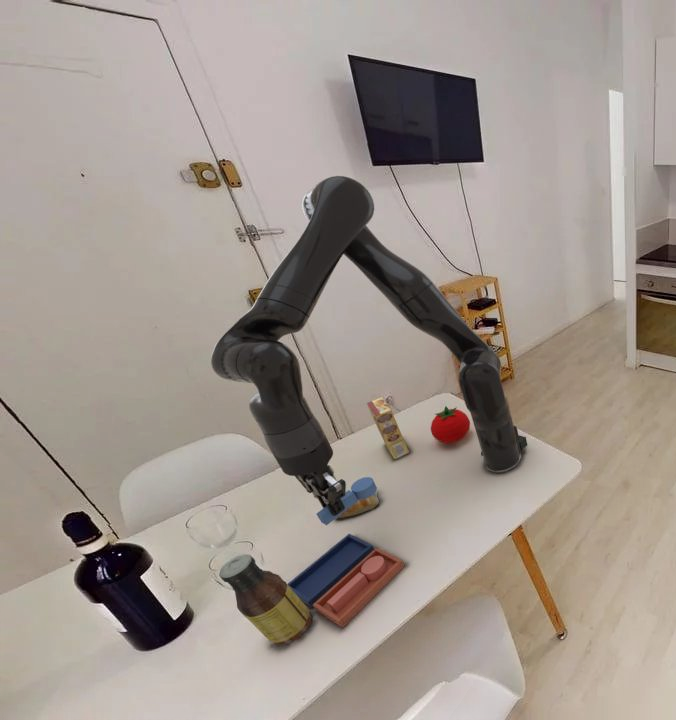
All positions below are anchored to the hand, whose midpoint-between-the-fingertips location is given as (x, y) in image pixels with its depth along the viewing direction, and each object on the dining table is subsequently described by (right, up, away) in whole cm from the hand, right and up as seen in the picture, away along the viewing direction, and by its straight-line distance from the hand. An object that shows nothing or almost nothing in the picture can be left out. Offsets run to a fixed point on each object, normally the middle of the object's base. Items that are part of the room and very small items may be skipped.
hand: (335, 510), depth 80 cm
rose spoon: (+5, -15, +1) cm, 16 cm away
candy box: (-10, +4, +37) cm, 39 cm away
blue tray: (-4, -14, +4) cm, 15 cm away
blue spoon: (+1, 0, +3) cm, 3 cm away
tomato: (+5, +6, +41) cm, 41 cm away
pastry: (-8, -6, +19) cm, 22 cm away
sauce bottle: (-4, -20, -5) cm, 21 cm away
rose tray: (+5, -16, +1) cm, 17 cm away
